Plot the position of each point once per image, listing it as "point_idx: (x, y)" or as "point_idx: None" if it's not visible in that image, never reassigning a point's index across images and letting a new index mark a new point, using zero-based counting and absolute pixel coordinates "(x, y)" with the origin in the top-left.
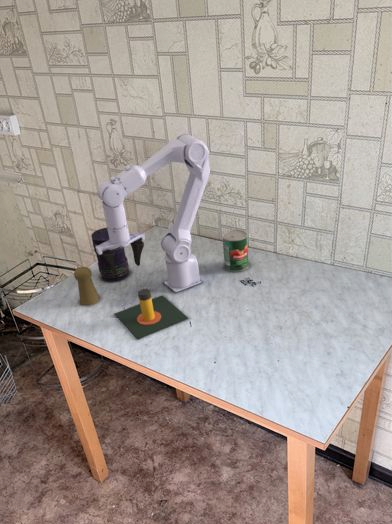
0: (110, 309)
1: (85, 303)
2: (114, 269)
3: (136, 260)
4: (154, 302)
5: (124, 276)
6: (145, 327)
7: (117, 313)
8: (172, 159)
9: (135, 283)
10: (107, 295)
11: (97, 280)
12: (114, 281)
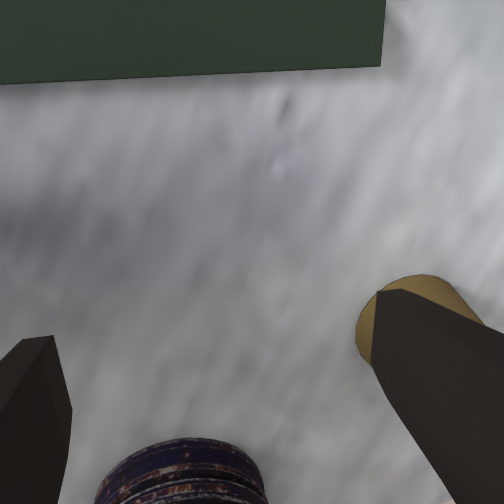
0: (367, 155)
1: (456, 292)
2: (439, 312)
3: (42, 414)
4: (46, 11)
5: (144, 462)
6: None
7: (365, 52)
8: None
9: (101, 373)
10: (307, 325)
11: (285, 487)
12: (214, 442)
